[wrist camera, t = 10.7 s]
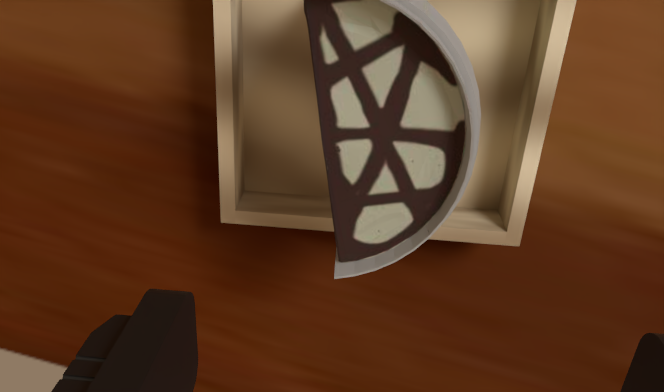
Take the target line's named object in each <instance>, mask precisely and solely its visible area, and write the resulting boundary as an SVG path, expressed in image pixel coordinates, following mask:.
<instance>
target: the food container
mask: <svg viewBox="0 0 664 392" xmlns="http://www.w3.org/2000/svg"><path fill="white" fill-rule="evenodd" d="M304 13H305V16H306V20H307V27H308V33H309V41H310V49H311V57H312V65H313V73H314V81H315V88H316V96H317V104H318V113H319V122H320V130H321V139H322V146H323V153H324V160H325V166H326V173H327V180H328V188H329V196H330V204H331V211H332V219H333V226H334V234H335V241H336V260H335V274H334V279H338V278H345V277H352V276H357V275H361V274H365V273H368V272H372V271H376V270H378V269H380V268H383V267H385V266H387V265H390V264H392V263H394V262H396V261H398V260H400V259H401V258H403V257H405V256H406V255H408V254H410V253H411V252H413V251H414V250H416V249H417V248H418V247H419V246H420V245H422V244H423V243H424V242H425V241H426V240H428V239H429V238H430V237H431V236H432V235H433V234H434V233H435V232H436V231H437V229H438V228H439V227H440V226H441V225H442V224H443V223H444V222H445V220H446V219H447V218H448V217H449V216H450V215H451V213H452V211H453V210H454V208H455V207H456V205H457V204H458V202H459V201H460V199H461V198H462V196H463V194H464V191H465V189H466V187H467V184H468V182H469V180H470V178H471V175H472V171H473V167H474V164H475V160H476V156H477V151H478V144H479V136H480V123H481V108H480V97H479V89H478V85H477V82H476V78H475V74H474V70H473V67H472V64H471V62H470V60H469V58H468V55H467V53H466V51H465V49H464V47H463V45H462V42H461V41H460V40H459V38H458V37H457V35H456V34H455V32H454V31H453V29H452V28H451V26H450V25H449V24H448V22H447V21H446V19H445V18H444V17H443V16H442V15H441V14H440V13H439V12H438V11H437V10H436V9H435V8H434V7H433V6H432V5H431V4H430V3H429V2H428V1H427V0H304Z"/></svg>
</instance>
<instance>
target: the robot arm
mask: <svg viewBox="0 0 664 392" xmlns="http://www.w3.org/2000/svg"><path fill="white" fill-rule="evenodd" d="M197 368H198V349H197V333H196V317H195V302H194V296H193V294H192V293H191V292H184V291H172V290H160V289H149V290H148V291H147V292H146V293H145V295H144V297H143V298H142V300H141V302H140V303H139V305H138V307H137V308H136V310H135V311H134V313H133V315H132V316H127V315H115V316H113V317H112V318H111V319H109V320H108V321H106V322H105V323H104V324H102V325H101V326H100V327H98V328H97V329H96V330H94V331H93V332H92V333H91V334H90V335H89V337H88V338H87V340H86V341H85V343H84V344H83V346H82V347H81V349H80V350H79V352H78V353H77V355H76V359H75V360H73V361H72V362H71V364H70V365H69V367H68V368H67V370H66V371H65V372H64V374H63V379H62V380H59V382H58V383H57V384H56V386H55V387H54V389H53V390H52V392H193V389H194V385H195V381H196V376H197ZM621 392H664V334H657V333H647V334H645V335H644V336H643V337H642V338H641V340H640V342H639V344H638V347H637V349H636V352H635V355H634V357H633V360H632V363H631V365H630V368H629V371H628V373H627V376H626V378H625V381H624V384H623V386H622V389H621Z"/></svg>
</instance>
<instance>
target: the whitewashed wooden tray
mask: <svg viewBox="0 0 664 392" xmlns="http://www.w3.org/2000/svg"><path fill="white" fill-rule="evenodd" d="M427 1H428V2H429V3H430V4H431V5H432V6H433V7H434V8H435V9H436V10H437V11H438V12H439V13H440V14H441V15H442V16H443V17H444V18H445V19H446V21H447V22H448V24H449V25H450V26H451V28H452V29H453V31H454V32H455V34H456V35H457V37H458V38H459V40H460V41H461V42H462V45H463V47H464V49H465V51H466V53H467V55H468V58H469V60H470V62H471V64H472V67H473V70H474V74H475V78H476V82H477V85H478V89H479V97H480V108H481V123H480V136H479V144H478V151H477V156H476V160H475V164H474V167H473V171H472V175H471V178H470V180H469V182H468V184H467V187H466V189H465V191H464V194H463V196H462V198H461V199H460V201H459V202H458V204H457V205H456V207H455V208H454V210H453V211H452V213H451V215H450V216H449V217H448V218H447V219H446V220H445V222H444V223H443V224H442V225H441V226H440V227H439V228H438V229H437V231H436V232H435V233H434V234H433V235H432V236H431V237H430V238H429V239H433V240H446V241H458V242H471V243H483V244H496V245H509V246H519V245H520V241H521V237H522V232H523V228H524V224H525V219H526V215H527V211H528V207H529V202H530V198H531V194H532V189H533V185H534V181H535V176H536V172H537V168H538V164H539V159H540V155H541V151H542V146H543V142H544V138H545V134H546V129H547V125H548V121H549V116H550V112H551V108H552V103H553V99H554V95H555V91H556V86H557V82H558V78H559V73H560V69H561V65H562V60H563V56H564V52H565V48H566V43H567V39H568V35H569V30H570V26H571V22H572V17H573V13H574V9H575V5H576V0H427ZM213 18H214V46H215V74H216V102H217V130H218V158H219V186H220V214H221V223H232V224H245V225H257V226H270V227H282V228H295V229H308V230H320V231H333V232H334V226H333V219H332V211H331V204H330V196H329V188H328V180H327V173H326V166H325V160H324V153H323V146H322V139H321V130H320V122H319V113H318V104H317V96H316V88H315V81H314V73H313V65H312V57H311V49H310V41H309V33H308V27H307V20H306V16H305V13H304V0H213Z"/></svg>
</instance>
